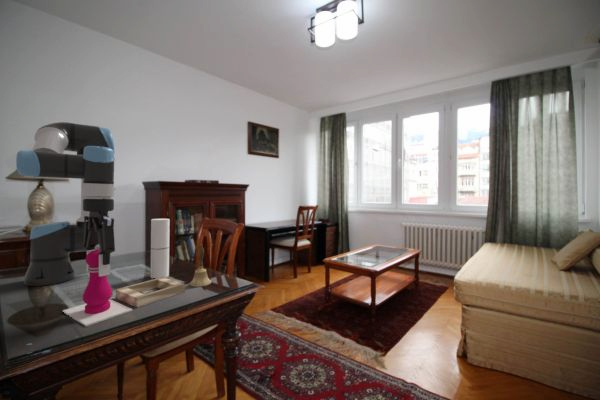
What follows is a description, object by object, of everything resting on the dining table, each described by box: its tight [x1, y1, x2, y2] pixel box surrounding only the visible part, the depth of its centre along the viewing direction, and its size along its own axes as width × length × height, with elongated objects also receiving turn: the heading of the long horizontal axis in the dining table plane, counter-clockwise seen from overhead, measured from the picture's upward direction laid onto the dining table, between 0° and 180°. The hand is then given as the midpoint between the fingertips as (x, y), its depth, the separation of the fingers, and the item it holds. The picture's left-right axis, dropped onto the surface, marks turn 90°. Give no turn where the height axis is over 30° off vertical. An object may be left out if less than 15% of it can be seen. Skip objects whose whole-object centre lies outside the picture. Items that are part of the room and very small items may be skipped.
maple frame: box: [115, 277, 186, 308], centre depth 96 cm, size 14×17×3 cm
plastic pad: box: [62, 298, 133, 327], centre depth 82 cm, size 16×12×1 cm
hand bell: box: [189, 243, 212, 288], centre depth 109 cm, size 8×8×16 cm
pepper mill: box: [82, 245, 113, 314], centre depth 82 cm, size 7×7×20 cm
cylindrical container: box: [150, 218, 171, 279], centre depth 117 cm, size 7×7×25 cm
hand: (98, 272), depth 82 cm, fingers open, 7 cm apart
